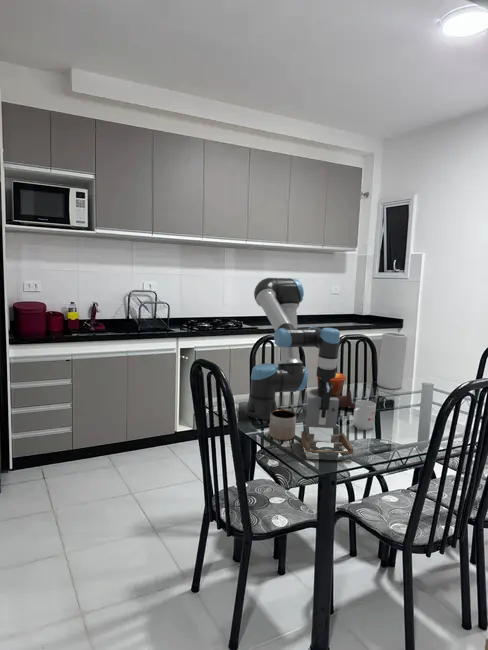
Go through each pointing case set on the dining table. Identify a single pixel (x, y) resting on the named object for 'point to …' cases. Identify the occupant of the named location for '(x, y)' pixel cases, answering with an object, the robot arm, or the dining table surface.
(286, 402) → the dining table surface
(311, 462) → the dining table surface
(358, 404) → the mug
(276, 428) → the planter
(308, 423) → the door
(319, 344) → the robot arm
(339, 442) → the carcass
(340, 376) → the food container
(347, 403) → the bracket
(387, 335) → the vase
